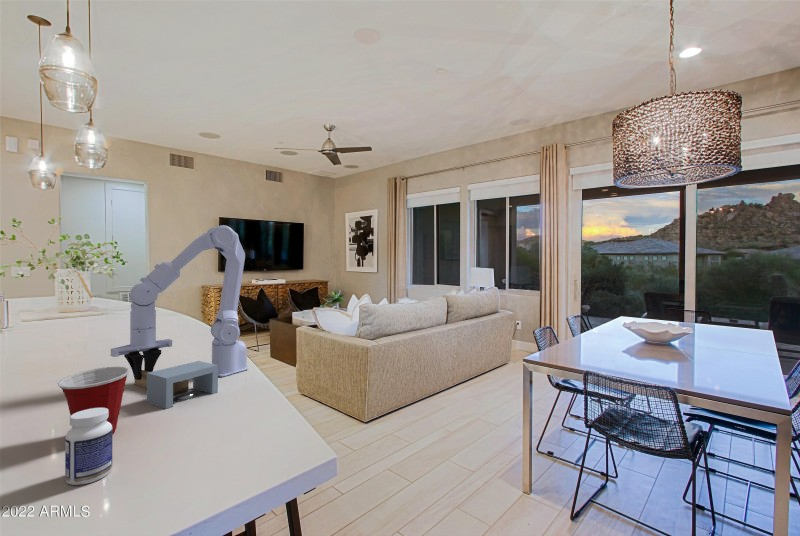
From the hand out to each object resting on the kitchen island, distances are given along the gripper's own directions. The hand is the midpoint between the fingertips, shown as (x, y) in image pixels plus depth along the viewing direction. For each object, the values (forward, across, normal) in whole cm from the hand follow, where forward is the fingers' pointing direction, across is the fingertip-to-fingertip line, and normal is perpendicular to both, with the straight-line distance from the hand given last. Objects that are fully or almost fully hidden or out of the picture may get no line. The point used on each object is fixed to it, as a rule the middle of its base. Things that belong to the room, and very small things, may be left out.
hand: (143, 377), depth 103 cm
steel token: (+2, 0, +18) cm, 18 cm away
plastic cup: (+2, +21, +24) cm, 32 cm away
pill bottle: (+2, +28, +39) cm, 48 cm away
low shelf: (+2, 0, +18) cm, 18 cm away
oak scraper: (+2, 0, +6) cm, 7 cm away
